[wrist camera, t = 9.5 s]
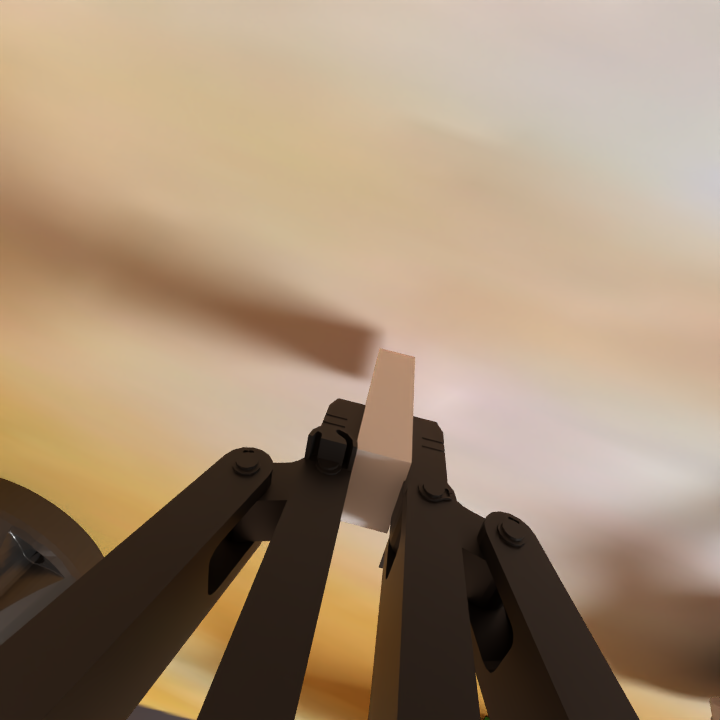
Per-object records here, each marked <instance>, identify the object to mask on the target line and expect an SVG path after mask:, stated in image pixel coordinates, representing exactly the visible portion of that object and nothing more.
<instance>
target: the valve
mask: <svg viewBox="0 0 720 720" xmlns="http://www.w3.org/2000/svg"><path fill="white" fill-rule="evenodd" d="M709 701H710V706H711V712H712V717H711V720H720V697H711V698H710V699H709Z"/></svg>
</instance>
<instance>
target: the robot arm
mask: <svg viewBox="0 0 720 720" xmlns="http://www.w3.org/2000/svg"><path fill="white" fill-rule="evenodd" d="M414 369H415V357H412V356H408V355H404V354H400V353H396V352H392V351H388V350H384V349H379V353H378V357H377V361H376V365H375V369H374V373H373V377H372V381H371V385H370V389H369V393H368V397H367V401H366V405H363V404H359V403H355V402H351V401H347V400H343V399H339V398H338V399H337V400H336V401H334V402H333V403H331V404H330V405H329V408H328V410H327V413H326V415H325V418H324V420H323V423H322V425H321V426H319V427H317V428H315V429H313V430H312V431H311V433H310V434H309V435H308V441H307V447H306V452H305V458H303V459H301V460H299V461H295V462H290V463H273V461H272V459H271V458H270V456H269V455H268V454H267V453H265V452H264V451H262V450H260V449H256V448H247V447H243V448H239V449H235V450H232V451H231V452H229V453H227V454H226V455H224V456H223V457H222V458H221V459H220V460H218V461H217V462H216V463H215V464H214V465H213V466H211V467H210V468H209V469H208V470H207V471H205V472H204V473H203V474H202V475H201V476H200V477H198V478H197V479H196V480H195V481H194V482H193V483H191V484H190V485H189V486H188V487H187V488H185V489H184V490H183V491H182V492H181V493H180V494H178V495H177V496H176V497H175V498H174V499H172V500H171V501H170V502H169V503H168V504H167V505H165V506H164V507H163V508H162V509H161V510H160V511H158V512H157V513H156V514H155V515H154V516H152V517H151V518H150V519H149V520H148V521H147V522H145V523H144V524H143V525H142V526H141V527H139V528H138V529H137V530H136V531H135V532H134V533H132V534H131V535H130V536H129V537H128V538H127V539H125V540H124V541H123V542H122V543H121V544H119V545H118V546H117V547H116V548H115V549H114V550H112V551H111V552H110V553H109V554H108V555H106V556H105V557H103V555H102V553H101V551H100V550H99V548H98V547H97V545H96V544H95V543H94V541H93V540H92V539H91V538H90V536H89V535H88V534H87V533H86V532H85V531H84V530H83V529H82V528H81V527H80V526H79V525H78V524H77V523H76V522H75V521H74V520H73V519H72V518H71V517H69V516H68V515H67V514H66V513H64V512H63V511H62V510H61V509H59V508H58V507H56V506H55V505H54V504H52V503H51V502H49V501H47V500H46V499H44V498H43V497H41V496H39V495H38V494H36V493H34V492H32V491H30V490H28V489H26V488H24V487H22V486H20V485H17V484H15V483H13V482H10V481H7V480H5V479H2V478H0V720H126V719H127V718H128V717H129V716H130V714H131V713H132V712H133V710H134V709H135V708H136V706H137V705H138V704H139V702H140V701H141V700H142V699H143V697H144V696H145V695H146V693H147V692H148V691H149V689H150V688H151V687H152V685H153V684H154V683H155V682H156V680H157V679H158V678H159V676H160V675H161V674H162V672H163V671H164V670H165V668H166V667H167V666H168V665H169V663H170V662H171V661H172V659H173V658H174V657H175V655H176V654H177V653H178V651H179V650H180V649H181V648H182V646H183V645H184V644H185V642H186V641H187V640H188V638H189V637H190V636H191V634H192V633H193V632H194V631H195V629H196V628H197V627H198V625H199V624H200V623H201V621H202V620H203V619H204V617H205V616H206V615H207V614H208V612H209V611H210V610H211V608H212V607H213V606H214V604H215V603H216V602H217V600H218V599H219V598H220V597H221V595H222V594H223V593H224V591H225V590H226V589H227V587H228V586H229V585H230V583H231V582H232V581H233V580H234V578H235V577H236V576H237V574H238V573H239V572H240V570H241V569H242V568H243V567H244V565H245V564H246V563H247V561H248V560H249V559H250V557H251V556H252V555H253V553H254V552H255V551H256V550H257V548H258V547H259V546H260V544H261V542H262V541H270V543H269V546H268V548H267V551H266V553H265V555H264V558H263V560H262V563H261V565H260V568H259V570H258V572H257V575H256V577H255V580H254V582H253V585H252V587H251V589H250V592H249V594H248V597H247V599H246V602H245V604H244V606H243V609H242V611H241V614H240V616H239V619H238V621H237V623H236V626H235V628H234V631H233V633H232V636H231V638H230V640H229V643H228V645H227V648H226V650H225V652H224V655H223V657H222V660H221V662H220V665H219V667H218V669H217V672H216V674H215V677H214V679H213V682H212V684H211V686H210V689H209V691H208V694H207V696H206V699H205V701H204V703H203V706H202V708H201V711H200V713H199V716H198V718H197V720H294V719H295V714H296V710H297V706H298V701H299V697H300V693H301V689H302V684H303V680H304V676H305V671H306V667H307V663H308V658H309V654H310V650H311V645H312V641H313V637H314V632H315V628H316V624H317V619H318V615H319V611H320V606H321V602H322V598H323V593H324V589H325V585H326V581H327V576H328V572H329V568H330V563H331V559H332V555H333V550H334V546H335V542H336V537H337V533H338V529H339V524H340V521H343V522H347V523H350V524H354V525H358V526H361V527H365V528H369V529H373V530H376V531H380V532H384V533H387V532H388V529H389V527H390V536H389V540H388V542H387V545H386V548H385V551H384V554H383V557H382V559H381V562H380V565H379V568H383V575H382V585H381V595H380V605H379V615H378V625H377V635H376V645H375V655H374V666H373V676H372V686H371V696H370V706H369V716H368V720H480V710H479V701H478V692H477V683H476V676H477V679H478V682H479V686H480V689H481V692H482V696H483V699H484V702H485V706H486V709H487V712H488V716H489V719H490V720H639V718H638V716H637V714H636V713H635V711H634V709H633V707H632V706H631V704H630V702H629V700H628V699H627V697H626V695H625V693H624V691H623V690H622V688H621V686H620V684H619V683H618V681H617V679H616V677H615V676H614V674H613V672H612V670H611V668H610V667H609V665H608V663H607V661H606V660H605V658H604V656H603V654H602V653H601V651H600V649H599V647H598V645H597V644H596V642H595V640H594V638H593V637H592V635H591V633H590V631H589V630H588V628H587V626H586V624H585V622H584V621H583V619H582V617H581V615H580V614H579V612H578V610H577V608H576V607H575V605H574V603H573V601H572V600H571V598H570V596H569V594H568V592H567V591H566V589H565V587H564V585H563V584H562V582H561V580H560V578H559V577H558V575H557V573H556V571H555V569H554V568H553V566H552V564H551V562H550V561H549V559H548V557H547V555H546V554H545V552H544V550H543V548H542V546H541V545H540V543H539V541H538V539H537V538H536V536H535V534H534V533H533V532H532V530H531V529H530V528H529V526H527V525H526V524H525V523H524V522H523V521H521V520H520V519H519V518H517V517H515V516H513V515H511V514H509V513H504V512H492V513H490V514H489V515H488V516H486V518H483V517H481V516H479V515H477V514H475V513H473V512H472V511H470V510H468V509H467V508H465V507H463V506H462V505H461V504H460V503H459V502H457V500H456V496H455V493H454V491H453V489H452V488H451V487H450V486H449V485H448V483H447V472H446V461H445V453H444V451H445V450H444V445H443V444H444V439H443V432H442V430H441V429H440V427H439V426H438V424H437V422H433V421H429V420H426V419H422V418H418V417H414V416H413V401H414ZM390 524H391V525H390ZM475 672H476V674H475Z"/></svg>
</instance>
